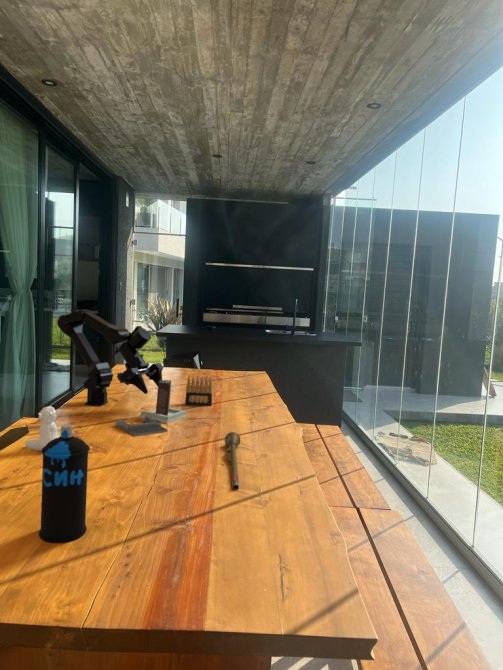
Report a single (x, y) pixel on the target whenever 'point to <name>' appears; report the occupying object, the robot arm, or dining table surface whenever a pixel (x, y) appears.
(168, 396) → the box
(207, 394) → the ammunition clip
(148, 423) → the socket bracket
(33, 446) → the sitting furry creature
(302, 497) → the dining table surface
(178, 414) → the tray
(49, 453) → the aerosol can
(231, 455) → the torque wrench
